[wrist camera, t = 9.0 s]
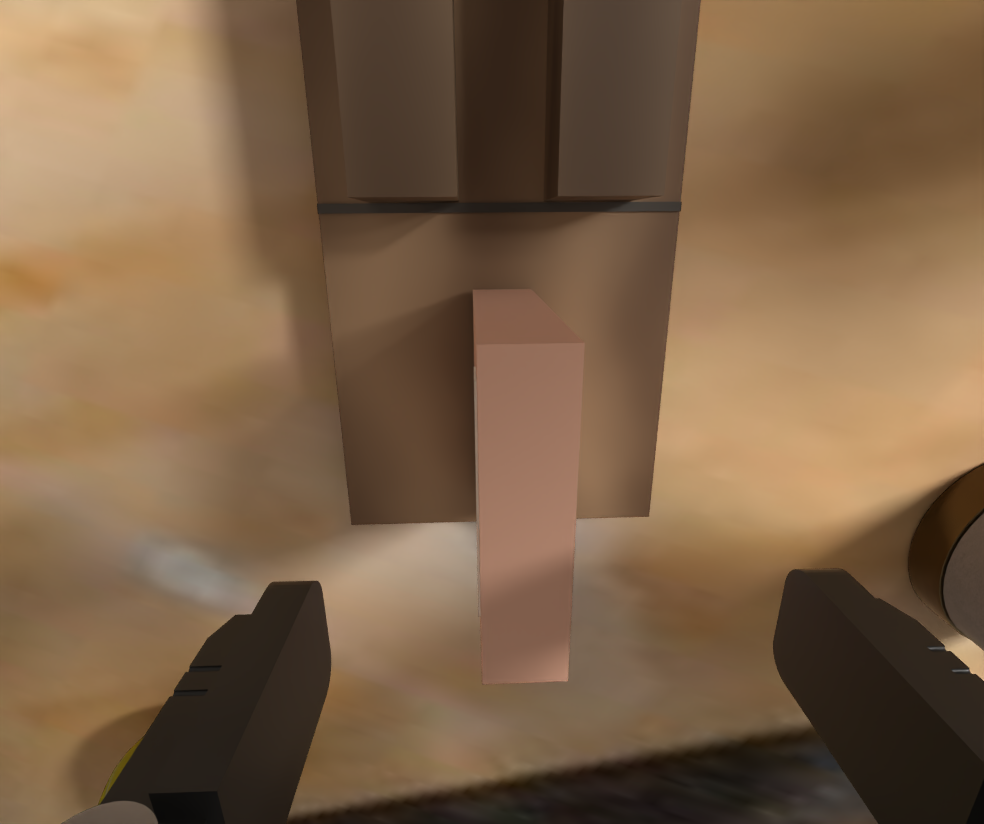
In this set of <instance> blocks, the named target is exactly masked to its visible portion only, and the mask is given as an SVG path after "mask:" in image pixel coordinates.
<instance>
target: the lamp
mask: <svg viewBox="0 0 984 824" xmlns="http://www.w3.org/2000/svg"><path fill="white" fill-rule="evenodd" d="M909 575H910V580H911V583H912V586H913V588H914V590H915V592H916V594H917V595H918V597H919V598H920V599H921V601H922V602H923V603H924V604H925V605H927V606H928V607H929V608H930V609H931V610H932V611H933V612H934V613H936V614H937V615H938V616H939V617H940V618H941V619H943V620H944V621H945V622H946V623H948V624H949V625H950V626H951V627H952V628H954V629H955V630H956V631H957V632H959V633H960V634H961V635H963V636H965V637H967V638H968V639H970V640H972V641H973V642H974V643H975V644H976V645H978V646H979V647H980V648H981V649H982V650H984V465H982V466H980V467H978V468H976V469H974V470H973V471H971V472H970V473H968V474H967V475H965V476H964V477H962V478H961V479H959V480H958V481H957V482H955V483H954V484H953V485H952V486H951V487H949V488H948V489H947V490H946V491H945V492H944V493H943V494H942V495H941V496H940V497H939V498H938V499H937V500H936V501H935V502H934V503H933V505H932V506H931V508H930V509H929V510H928V512H927V513H926V514H925V516H924V517H923V519H922V521H921V523H920V524H919V526H918V528H917V530H916V533H915V535H914V538H913V541H912V543H911V548H910V553H909Z"/></svg>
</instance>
